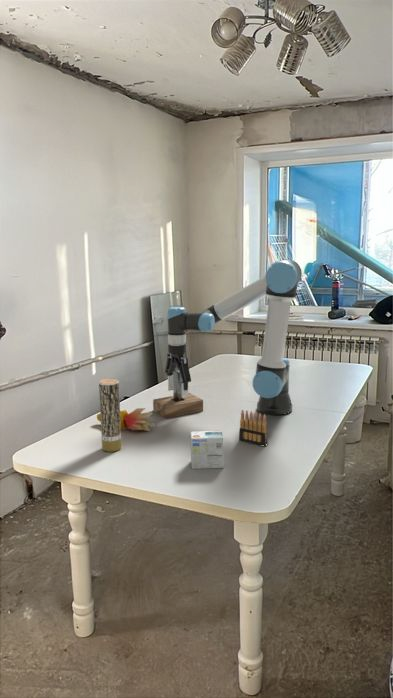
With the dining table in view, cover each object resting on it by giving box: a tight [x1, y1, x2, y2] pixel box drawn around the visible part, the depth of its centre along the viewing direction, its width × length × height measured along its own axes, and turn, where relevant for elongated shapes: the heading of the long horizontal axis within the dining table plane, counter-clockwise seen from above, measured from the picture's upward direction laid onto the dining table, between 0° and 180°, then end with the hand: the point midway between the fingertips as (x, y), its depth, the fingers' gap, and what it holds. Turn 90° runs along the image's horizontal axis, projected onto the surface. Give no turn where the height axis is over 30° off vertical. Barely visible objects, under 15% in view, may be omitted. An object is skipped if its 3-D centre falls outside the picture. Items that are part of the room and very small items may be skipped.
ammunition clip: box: [238, 409, 268, 447], centre depth 191 cm, size 11×2×12 cm, turn 58°
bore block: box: [152, 392, 204, 419], centre depth 227 cm, size 12×18×5 cm, turn 121°
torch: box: [96, 407, 156, 432], centre depth 207 cm, size 8×8×25 cm
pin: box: [172, 369, 183, 402], centre depth 226 cm, size 4×4×16 cm
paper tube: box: [98, 378, 122, 453], centre depth 185 cm, size 7×7×25 cm
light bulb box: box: [190, 430, 224, 470], centre depth 173 cm, size 11×7×11 cm, turn 92°
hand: (177, 393), depth 226 cm, fingers open, 11 cm apart
